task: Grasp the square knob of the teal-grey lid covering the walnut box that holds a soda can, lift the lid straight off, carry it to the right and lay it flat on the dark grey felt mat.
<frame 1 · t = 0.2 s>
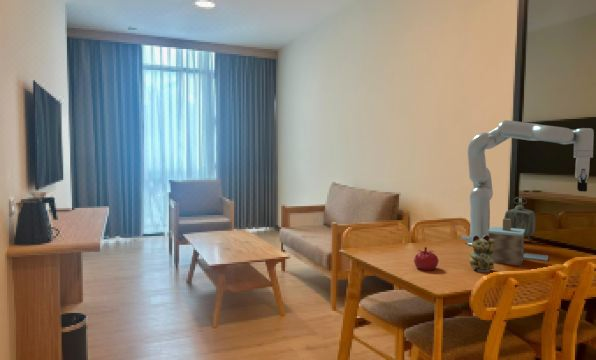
hand: (581, 190, 195), 31 cm above the table, tool pointing down, fingers open, 9 cm apart
lid: (506, 232, 187), point 13 cm above the table, touching walnut box
soda can: (505, 261, 188), resting in walnut box
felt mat: (535, 257, 193), on the table
walnut box: (506, 260, 188), on the table
pomegranate: (425, 269, 175), on the table
decorative figurine: (480, 270, 172), on the table
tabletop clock: (518, 241, 231), on the table
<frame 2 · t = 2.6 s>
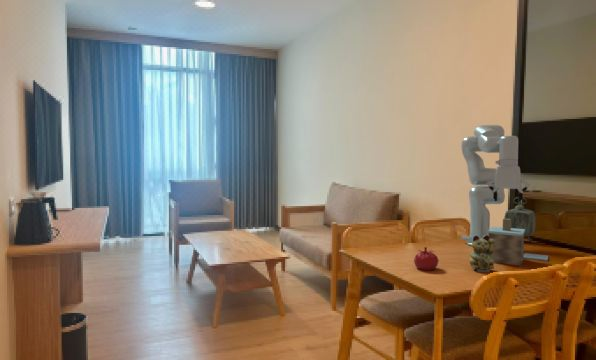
hand: (507, 201, 186), 27 cm above the table, tool pointing down, fingers open, 9 cm apart
nothing on the table moved.
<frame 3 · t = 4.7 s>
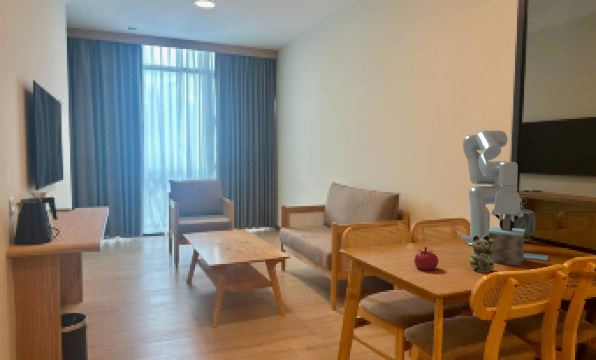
hand: (506, 229, 187), 14 cm above the table, tool pointing down, fingers closed on lid, 3 cm apart
lid: (506, 232, 187), point 13 cm above the table, touching gripper, walnut box
everything else where it was.
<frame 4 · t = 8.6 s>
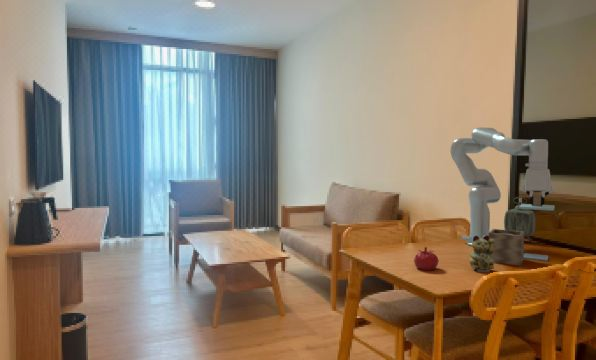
hand: (537, 205, 192), 25 cm above the table, tool pointing down, fingers closed on lid, 3 cm apart
lid: (537, 208, 192), point 23 cm above the table, touching gripper
everything else where it was.
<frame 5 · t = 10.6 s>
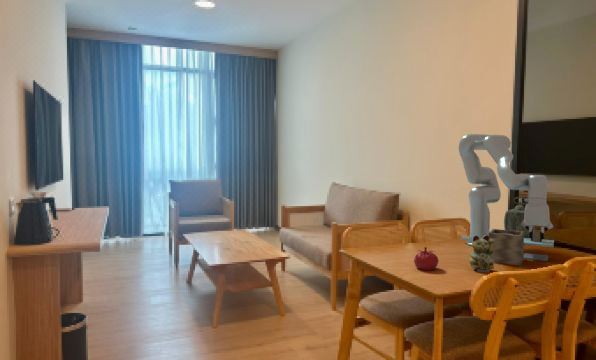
hand: (536, 240, 192), 8 cm above the table, tool pointing down, fingers closed on lid, 3 cm apart
lid: (536, 243, 192), point 7 cm above the table, touching gripper
everything else where it was.
when the fingers open (3 cm above the table, at t = 12.3 s): lid drops 1 cm, resting on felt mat.
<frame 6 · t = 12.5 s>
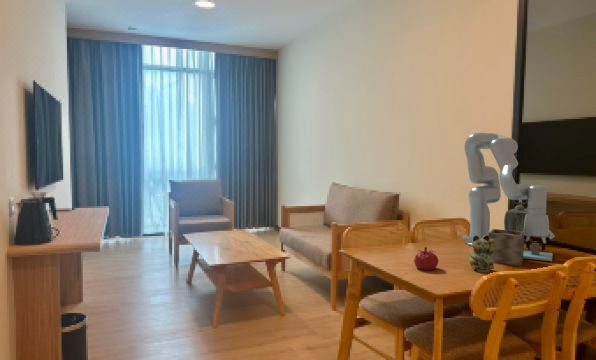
hand: (535, 250, 193), 4 cm above the table, tool pointing down, fingers open, 4 cm apart
lid: (535, 256, 193), point 1 cm above the table, touching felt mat
everything else where it was.
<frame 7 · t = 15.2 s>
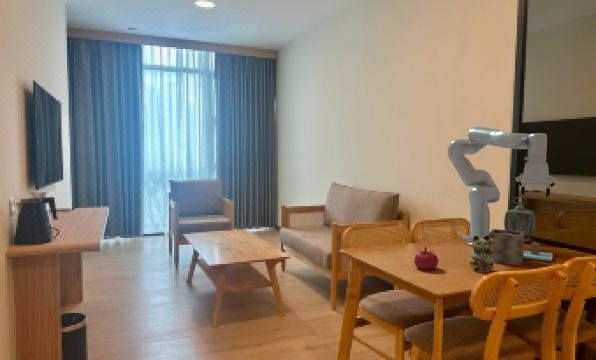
hand: (535, 196, 194), 29 cm above the table, tool pointing down, fingers open, 9 cm apart
nothing on the table moved.
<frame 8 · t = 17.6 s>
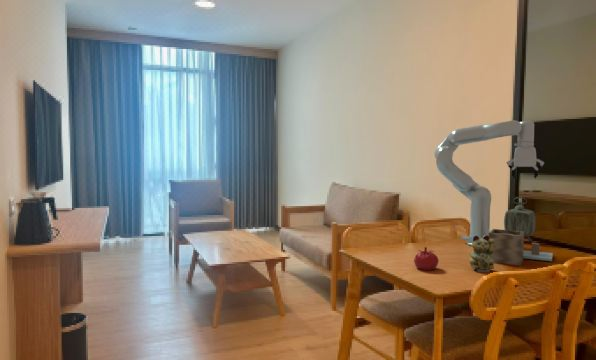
hand: (524, 177, 216), 36 cm above the table, tool pointing down, fingers open, 9 cm apart
nothing on the table moved.
at the end: lid inside the target area on the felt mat (0.1 cm from its centre), point 0.6 cm above the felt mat's base; lid tilted 0°; lid touching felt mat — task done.
